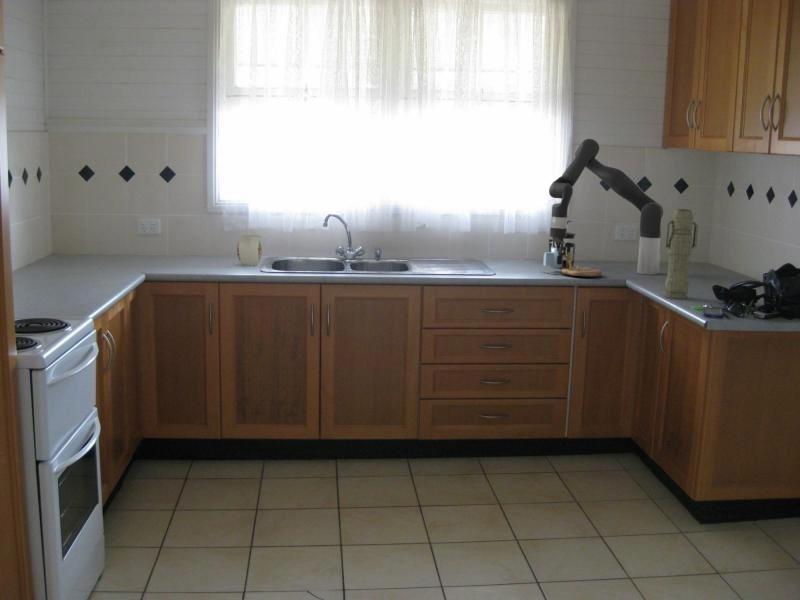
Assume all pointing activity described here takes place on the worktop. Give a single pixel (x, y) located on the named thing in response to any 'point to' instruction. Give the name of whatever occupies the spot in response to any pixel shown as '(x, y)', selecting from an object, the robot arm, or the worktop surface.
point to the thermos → (679, 253)
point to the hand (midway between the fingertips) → (556, 263)
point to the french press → (569, 247)
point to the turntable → (579, 269)
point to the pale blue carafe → (551, 259)
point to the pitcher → (249, 249)
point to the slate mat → (553, 272)
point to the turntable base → (582, 276)
